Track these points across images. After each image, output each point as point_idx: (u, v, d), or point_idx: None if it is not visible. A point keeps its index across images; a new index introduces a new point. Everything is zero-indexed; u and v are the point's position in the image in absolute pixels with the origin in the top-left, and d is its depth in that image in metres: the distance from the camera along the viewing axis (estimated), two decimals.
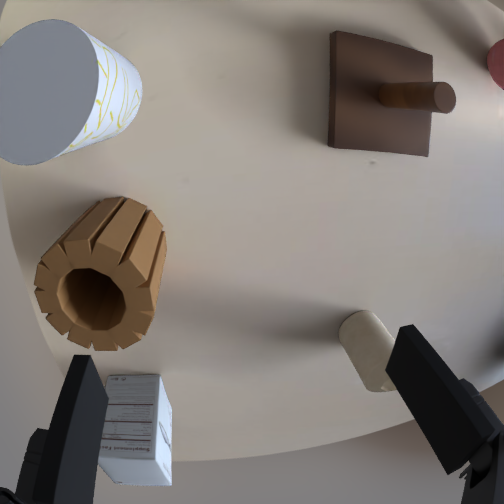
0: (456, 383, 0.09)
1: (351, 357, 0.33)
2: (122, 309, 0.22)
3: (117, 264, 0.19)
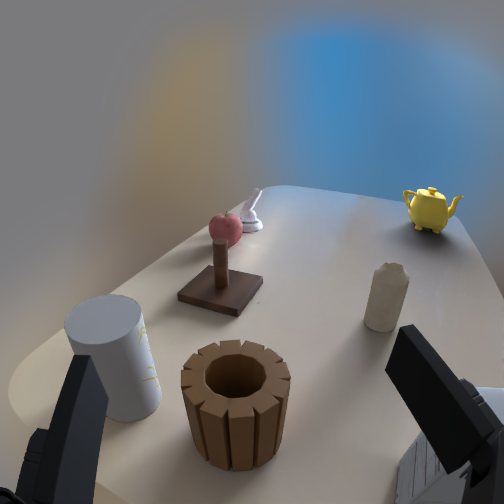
0: (456, 383, 0.09)
1: (388, 309, 0.42)
2: (263, 382, 0.26)
3: (219, 347, 0.28)
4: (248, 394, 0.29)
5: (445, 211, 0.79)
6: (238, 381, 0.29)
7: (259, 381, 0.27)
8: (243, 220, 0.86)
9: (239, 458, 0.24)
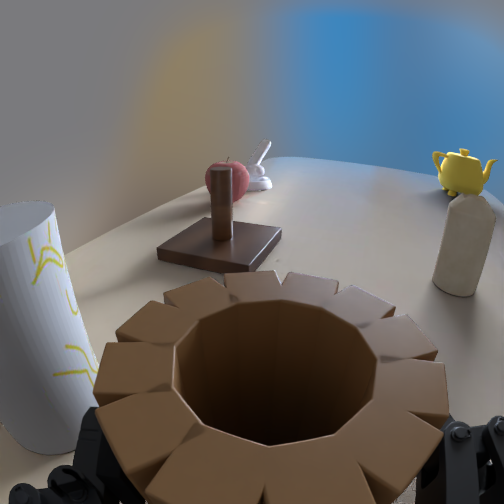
0: None
1: (473, 258, 0.25)
2: (347, 377, 0.09)
3: (222, 286, 0.11)
4: (291, 410, 0.12)
5: (481, 174, 0.62)
6: (270, 380, 0.11)
7: (331, 376, 0.10)
8: None
9: None
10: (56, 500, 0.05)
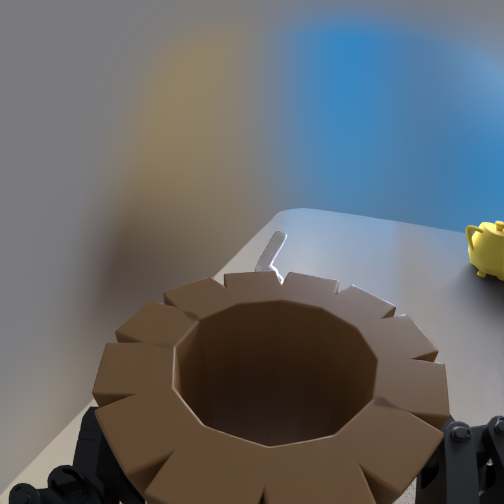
0: None
1: None
2: (347, 377, 0.09)
3: (222, 286, 0.11)
4: (291, 411, 0.12)
5: None
6: (270, 381, 0.11)
7: (331, 377, 0.10)
8: None
9: None
10: (56, 500, 0.05)
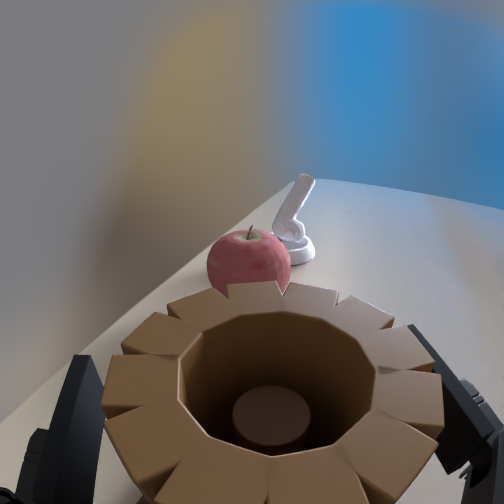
0: (456, 383, 0.09)
1: None
2: (347, 386, 0.09)
3: (224, 297, 0.11)
4: None
5: None
6: None
7: (331, 385, 0.10)
8: None
9: None
10: None
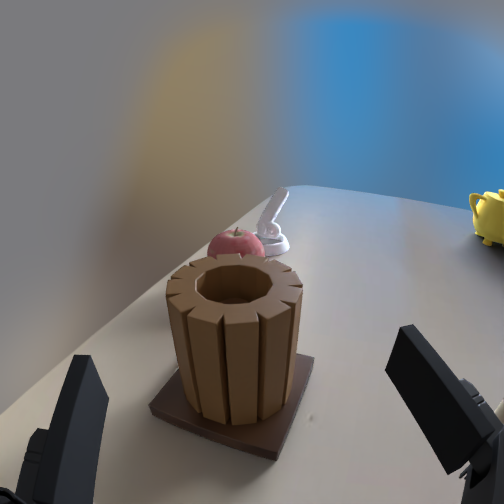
0: (456, 383, 0.09)
1: None
2: None
3: (215, 259, 0.24)
4: None
5: None
6: None
7: None
8: (259, 236, 0.57)
9: (239, 401, 0.20)
10: None
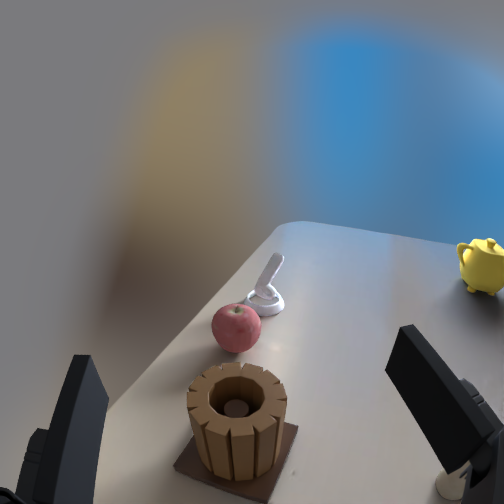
0: (456, 383, 0.09)
1: None
2: (262, 401, 0.28)
3: (221, 369, 0.30)
4: None
5: None
6: (239, 399, 0.31)
7: (258, 400, 0.29)
8: (257, 293, 0.63)
9: (241, 469, 0.26)
10: None
